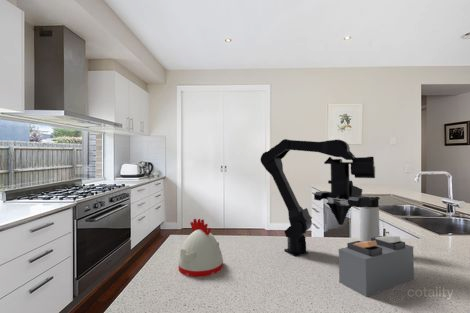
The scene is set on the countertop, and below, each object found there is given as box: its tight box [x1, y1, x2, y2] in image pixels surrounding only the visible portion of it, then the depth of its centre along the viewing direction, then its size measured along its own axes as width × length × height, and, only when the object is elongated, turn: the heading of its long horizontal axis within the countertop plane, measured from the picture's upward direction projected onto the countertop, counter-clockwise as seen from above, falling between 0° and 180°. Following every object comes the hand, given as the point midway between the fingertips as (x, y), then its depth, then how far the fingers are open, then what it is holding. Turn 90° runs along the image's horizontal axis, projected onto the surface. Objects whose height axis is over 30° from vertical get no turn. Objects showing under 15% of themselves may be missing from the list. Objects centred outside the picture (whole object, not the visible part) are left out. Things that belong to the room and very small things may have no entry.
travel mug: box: [358, 196, 381, 242], centre depth 89 cm, size 6×7×20 cm
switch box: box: [338, 235, 415, 297], centre depth 68 cm, size 8×20×10 cm, turn 116°
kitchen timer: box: [178, 218, 224, 278], centre depth 78 cm, size 14×14×15 cm
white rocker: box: [375, 235, 401, 243], centre depth 70 cm, size 5×3×1 cm, turn 26°
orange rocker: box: [353, 240, 377, 248], centre depth 66 cm, size 5×3×1 cm, turn 26°
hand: (340, 224), depth 81 cm, fingers closed
